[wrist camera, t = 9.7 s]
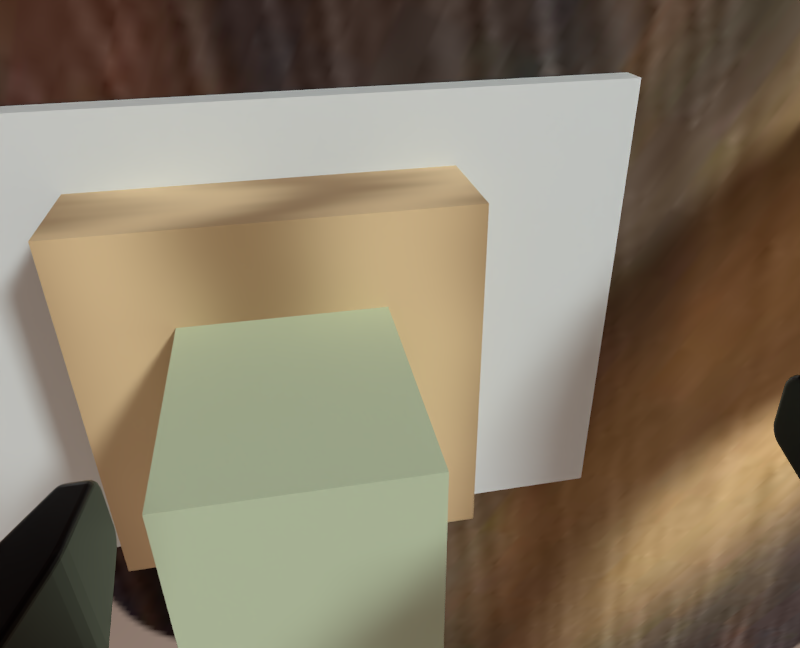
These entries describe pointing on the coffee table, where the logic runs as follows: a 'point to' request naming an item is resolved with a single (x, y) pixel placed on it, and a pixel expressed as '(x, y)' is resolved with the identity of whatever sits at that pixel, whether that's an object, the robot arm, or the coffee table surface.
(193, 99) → the white rectangular plate
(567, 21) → the coffee table surface
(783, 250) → the coffee table surface
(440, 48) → the coffee table surface
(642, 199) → the coffee table surface
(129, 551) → the base block
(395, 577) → the top block
